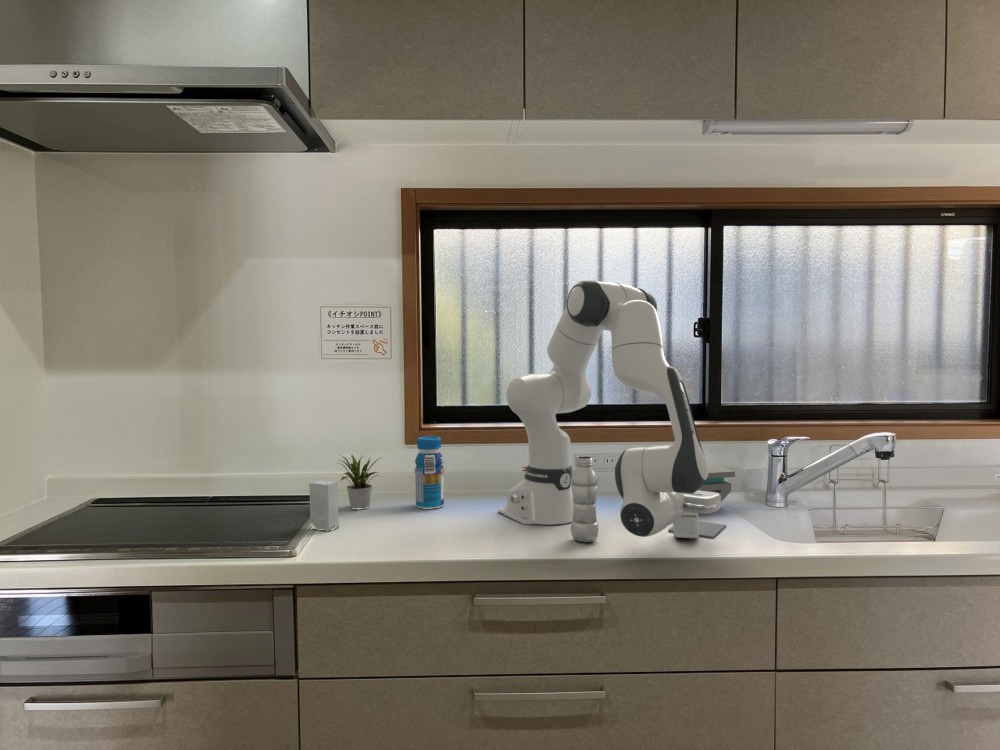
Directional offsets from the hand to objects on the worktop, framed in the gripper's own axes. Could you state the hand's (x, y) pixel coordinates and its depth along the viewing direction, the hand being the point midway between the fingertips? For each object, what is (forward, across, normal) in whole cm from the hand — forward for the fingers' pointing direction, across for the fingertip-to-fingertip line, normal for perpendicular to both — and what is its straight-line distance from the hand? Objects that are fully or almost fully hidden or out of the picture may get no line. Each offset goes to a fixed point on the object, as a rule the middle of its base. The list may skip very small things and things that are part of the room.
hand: (683, 490), depth 158 cm
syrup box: (+1, 0, +12) cm, 12 cm away
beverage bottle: (-6, +72, +12) cm, 73 cm away
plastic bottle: (-12, +20, +12) cm, 26 cm away
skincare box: (-38, +81, +12) cm, 90 cm away
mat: (+11, 0, +12) cm, 16 cm away
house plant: (-19, +90, +12) cm, 92 cm away
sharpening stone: (+29, +8, +12) cm, 33 cm away
